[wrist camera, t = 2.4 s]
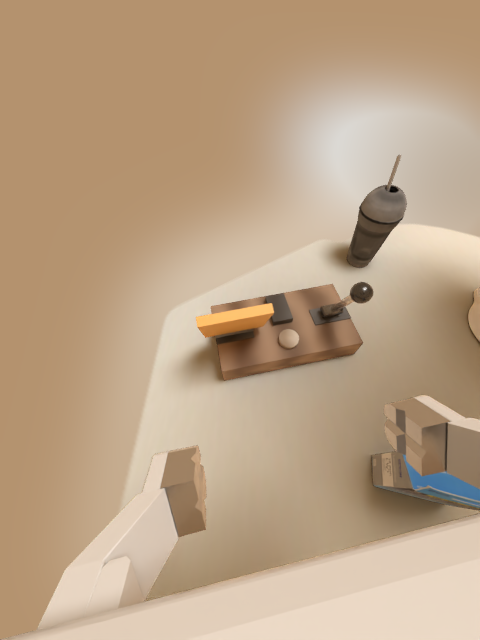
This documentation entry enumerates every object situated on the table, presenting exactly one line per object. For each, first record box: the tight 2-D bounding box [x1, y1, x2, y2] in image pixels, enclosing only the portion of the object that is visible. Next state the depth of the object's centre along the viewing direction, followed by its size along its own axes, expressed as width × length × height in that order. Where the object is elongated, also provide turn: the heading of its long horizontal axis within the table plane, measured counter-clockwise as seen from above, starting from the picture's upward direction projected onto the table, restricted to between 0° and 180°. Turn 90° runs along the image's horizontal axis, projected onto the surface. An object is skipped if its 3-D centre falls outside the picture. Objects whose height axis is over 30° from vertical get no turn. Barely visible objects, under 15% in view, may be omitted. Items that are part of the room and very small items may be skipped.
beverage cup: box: [347, 155, 407, 267], centre depth 46 cm, size 7×7×20 cm
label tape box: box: [372, 452, 480, 510], centre depth 28 cm, size 9×4×12 cm, turn 77°
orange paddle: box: [196, 303, 274, 338], centre depth 35 cm, size 9×2×11 cm, turn 101°
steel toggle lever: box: [320, 282, 373, 317], centre depth 36 cm, size 3×3×12 cm
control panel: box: [211, 284, 363, 381], centre depth 43 cm, size 22×12×5 cm, turn 101°
